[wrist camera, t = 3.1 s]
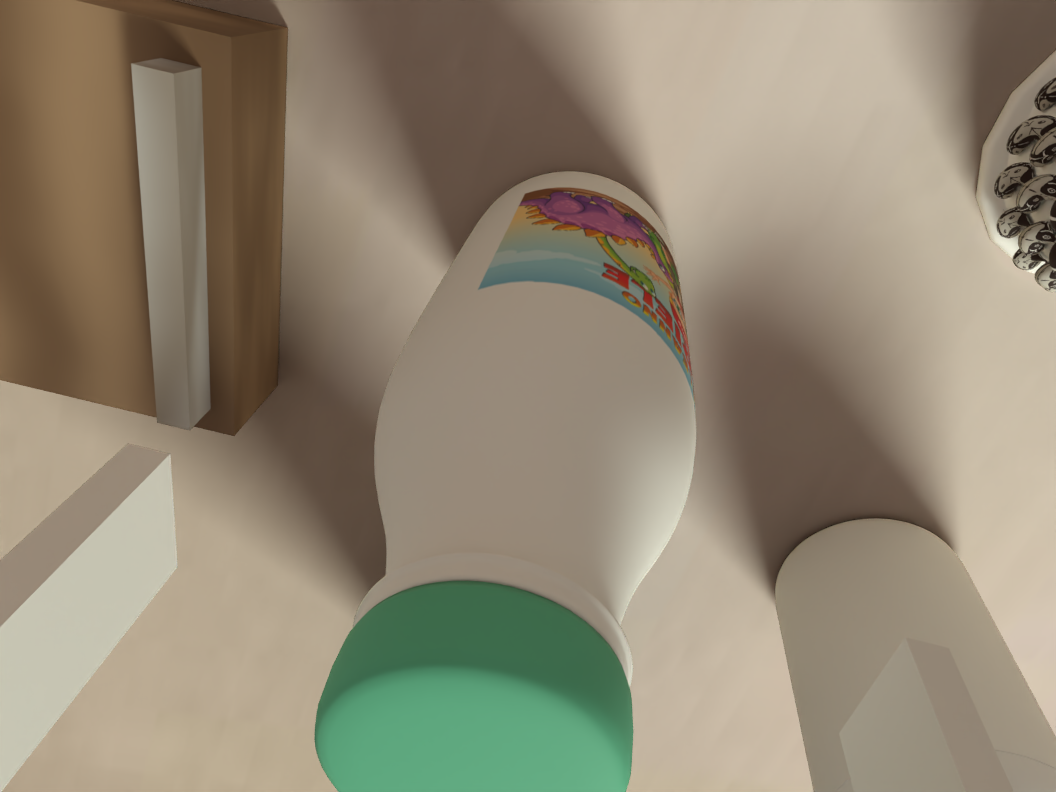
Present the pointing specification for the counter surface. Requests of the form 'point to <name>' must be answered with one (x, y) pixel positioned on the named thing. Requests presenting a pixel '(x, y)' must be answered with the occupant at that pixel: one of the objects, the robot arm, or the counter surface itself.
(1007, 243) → the decorative candle
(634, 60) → the counter surface
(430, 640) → the milk bottle
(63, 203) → the display riser
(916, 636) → the pill bottle
